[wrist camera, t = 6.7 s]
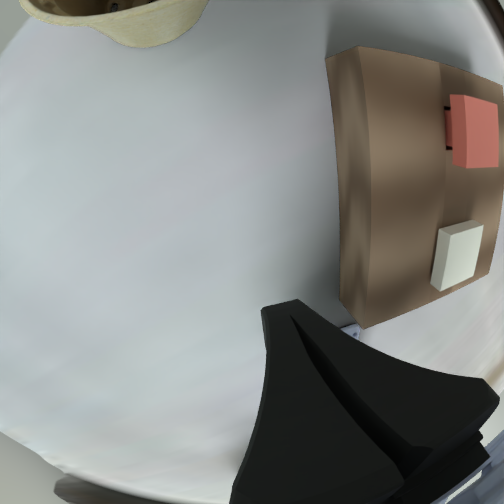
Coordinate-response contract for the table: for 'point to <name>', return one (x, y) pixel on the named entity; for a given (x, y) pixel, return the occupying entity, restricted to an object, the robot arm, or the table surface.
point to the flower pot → (122, 17)
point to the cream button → (456, 254)
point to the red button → (472, 132)
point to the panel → (404, 178)
